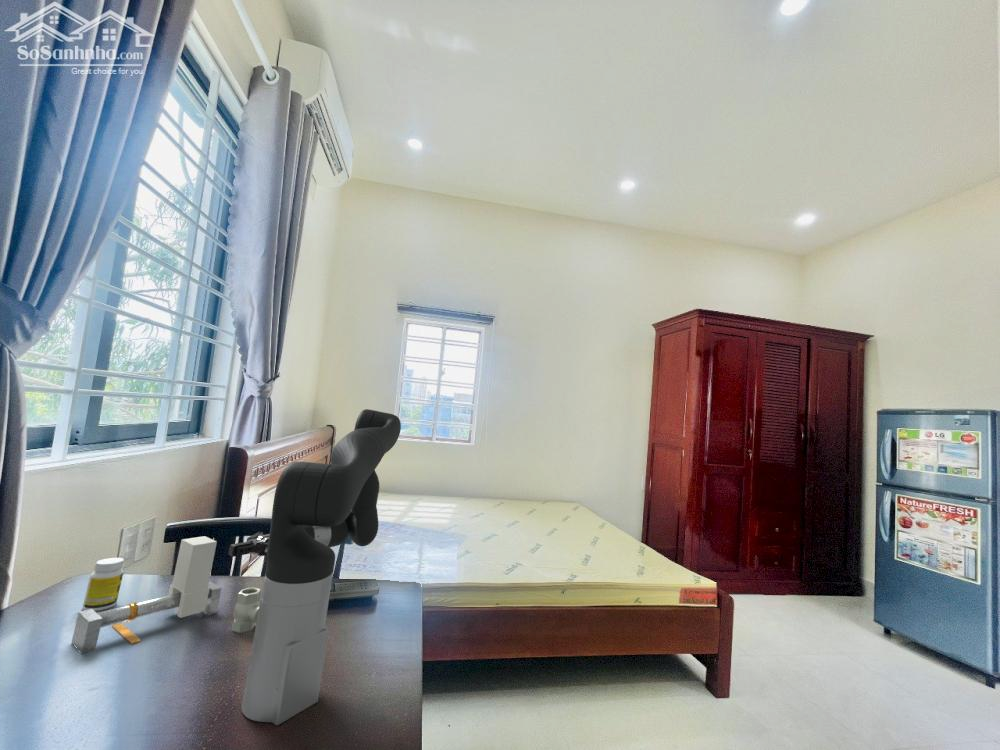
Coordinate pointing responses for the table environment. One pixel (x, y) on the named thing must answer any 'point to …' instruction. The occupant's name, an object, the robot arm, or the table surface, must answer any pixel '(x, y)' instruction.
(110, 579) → the supplement bottle
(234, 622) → the valve
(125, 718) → the table surface
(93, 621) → the rail
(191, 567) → the tall white pillar block
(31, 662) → the table surface
